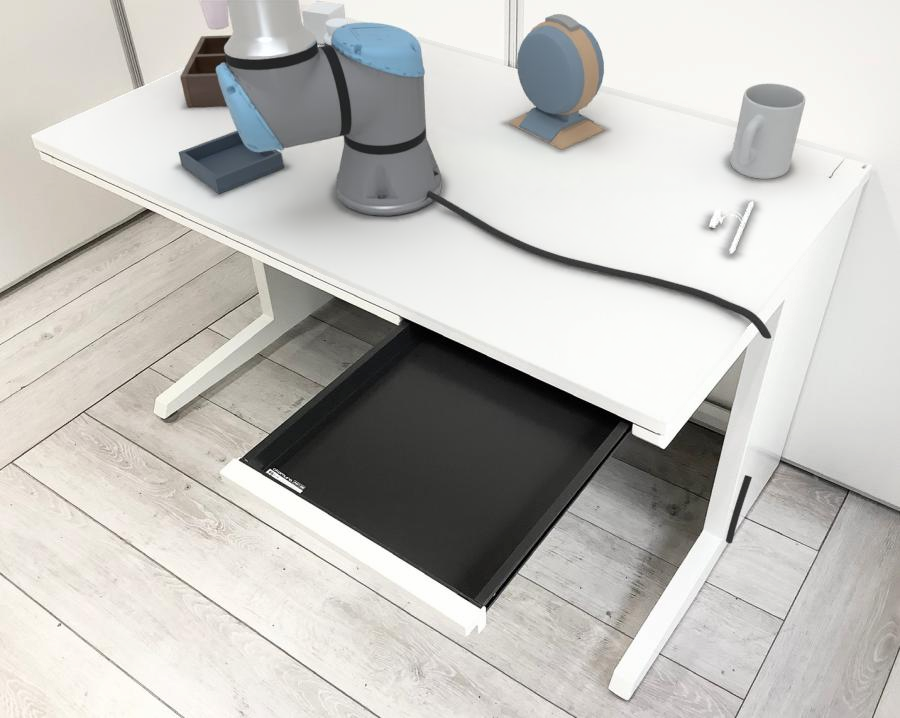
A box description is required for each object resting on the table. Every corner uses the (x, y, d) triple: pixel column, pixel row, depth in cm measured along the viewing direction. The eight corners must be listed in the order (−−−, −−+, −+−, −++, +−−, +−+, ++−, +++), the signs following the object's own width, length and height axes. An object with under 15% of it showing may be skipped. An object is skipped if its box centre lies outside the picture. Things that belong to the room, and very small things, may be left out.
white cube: (321, 30, 179) (317, 0, 175) (347, 34, 177) (344, 3, 173) (305, 41, 175) (301, 10, 171) (332, 45, 173) (328, 14, 169)
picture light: (733, 256, 115) (736, 242, 114) (699, 249, 117) (702, 235, 115) (754, 204, 125) (757, 191, 123) (723, 198, 126) (725, 185, 125)
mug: (745, 146, 138) (759, 77, 130) (798, 162, 133) (816, 92, 126) (709, 177, 131) (722, 107, 123) (764, 195, 126) (780, 123, 119)
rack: (241, 105, 153) (236, 74, 150) (187, 107, 154) (179, 76, 150) (257, 63, 167) (252, 34, 163) (207, 65, 167) (200, 36, 164)
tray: (284, 167, 136) (281, 153, 135) (218, 194, 131) (215, 179, 129) (245, 142, 143) (242, 128, 141) (181, 166, 138) (178, 152, 136)
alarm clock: (609, 132, 142) (620, 21, 131) (566, 152, 138) (573, 38, 126) (547, 103, 151) (552, -3, 139) (504, 121, 146) (506, 12, 135)
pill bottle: (323, 68, 165) (317, 19, 159) (350, 62, 166) (345, 14, 160) (333, 78, 161) (327, 29, 155) (360, 72, 163) (355, 24, 157)
